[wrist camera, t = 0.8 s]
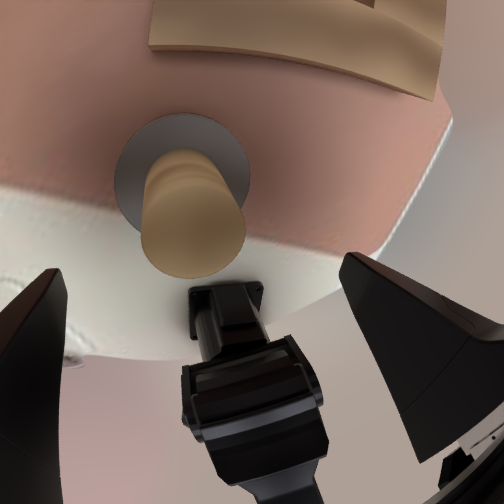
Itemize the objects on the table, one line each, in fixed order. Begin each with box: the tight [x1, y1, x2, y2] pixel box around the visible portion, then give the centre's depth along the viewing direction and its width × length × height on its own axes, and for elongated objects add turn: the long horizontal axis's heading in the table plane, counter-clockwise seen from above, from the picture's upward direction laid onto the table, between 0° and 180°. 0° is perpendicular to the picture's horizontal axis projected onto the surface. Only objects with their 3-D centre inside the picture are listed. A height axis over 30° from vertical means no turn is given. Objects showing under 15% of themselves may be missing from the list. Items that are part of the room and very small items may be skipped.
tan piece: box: [114, 113, 250, 279], centre depth 14 cm, size 7×7×10 cm
